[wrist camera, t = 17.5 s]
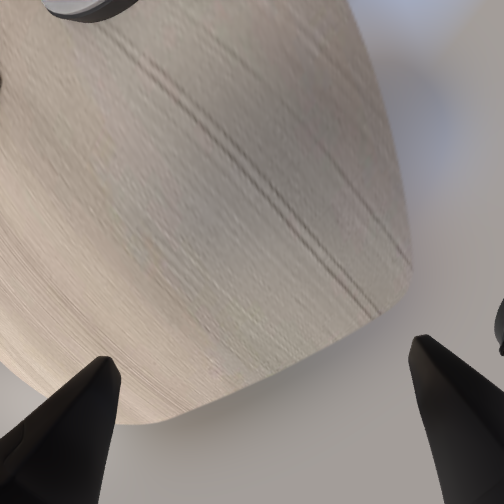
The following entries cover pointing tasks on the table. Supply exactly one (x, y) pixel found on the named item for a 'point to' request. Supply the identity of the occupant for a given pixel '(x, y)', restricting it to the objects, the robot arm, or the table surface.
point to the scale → (86, 9)
